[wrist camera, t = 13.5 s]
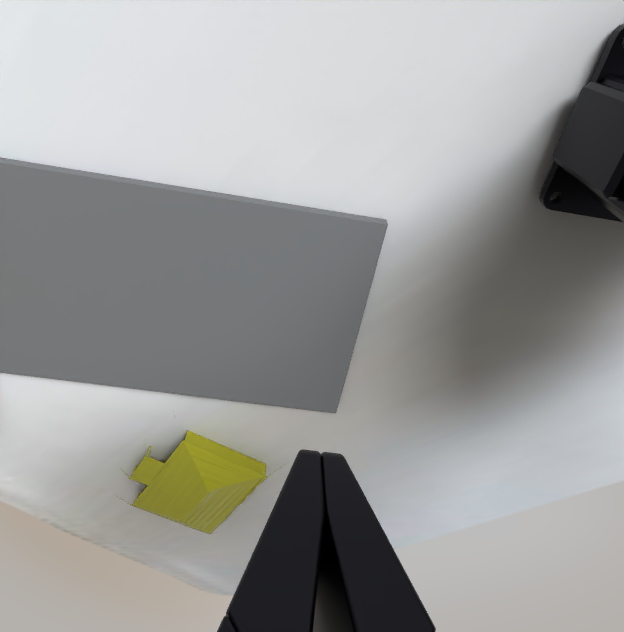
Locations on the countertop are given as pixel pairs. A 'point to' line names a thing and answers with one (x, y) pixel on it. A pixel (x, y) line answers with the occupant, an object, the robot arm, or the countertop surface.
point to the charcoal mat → (179, 288)
